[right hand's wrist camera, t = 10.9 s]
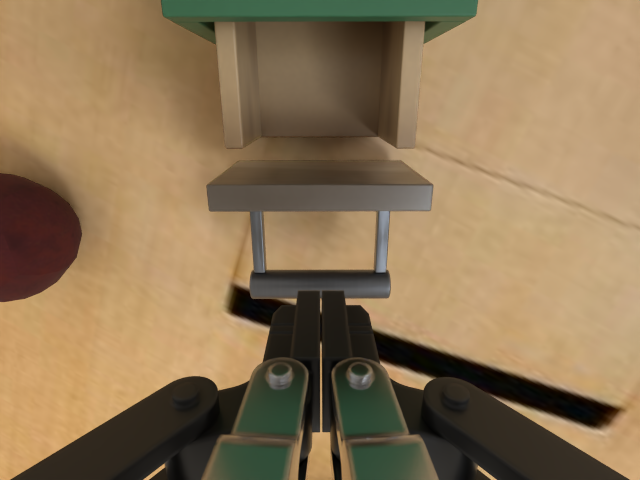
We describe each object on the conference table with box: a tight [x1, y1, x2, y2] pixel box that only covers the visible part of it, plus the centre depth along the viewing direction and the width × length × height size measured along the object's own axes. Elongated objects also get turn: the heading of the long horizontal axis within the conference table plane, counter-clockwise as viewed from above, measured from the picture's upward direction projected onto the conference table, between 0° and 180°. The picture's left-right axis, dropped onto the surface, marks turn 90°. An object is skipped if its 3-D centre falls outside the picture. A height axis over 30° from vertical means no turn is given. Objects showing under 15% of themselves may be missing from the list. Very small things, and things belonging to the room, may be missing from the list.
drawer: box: [207, 21, 433, 299], centre depth 18 cm, size 22×10×7 cm, turn 0°
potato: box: [0, 173, 82, 302], centre depth 21 cm, size 7×8×7 cm
